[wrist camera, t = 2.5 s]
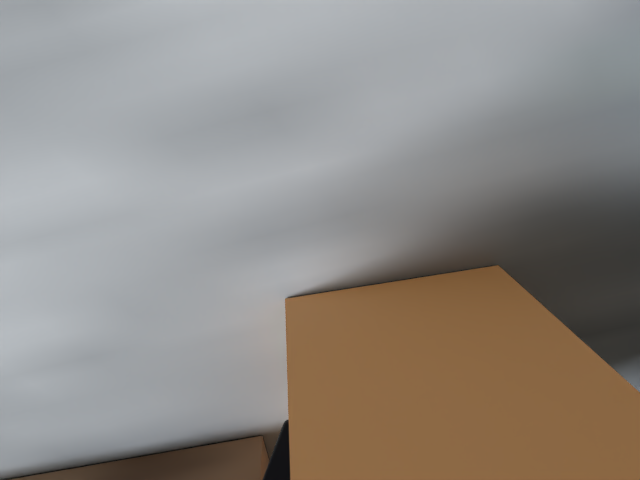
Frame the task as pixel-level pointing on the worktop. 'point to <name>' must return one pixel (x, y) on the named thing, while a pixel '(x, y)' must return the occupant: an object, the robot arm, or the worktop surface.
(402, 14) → the worktop surface
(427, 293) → the kraft paper carton
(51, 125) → the worktop surface
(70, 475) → the wooden holder
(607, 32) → the worktop surface
